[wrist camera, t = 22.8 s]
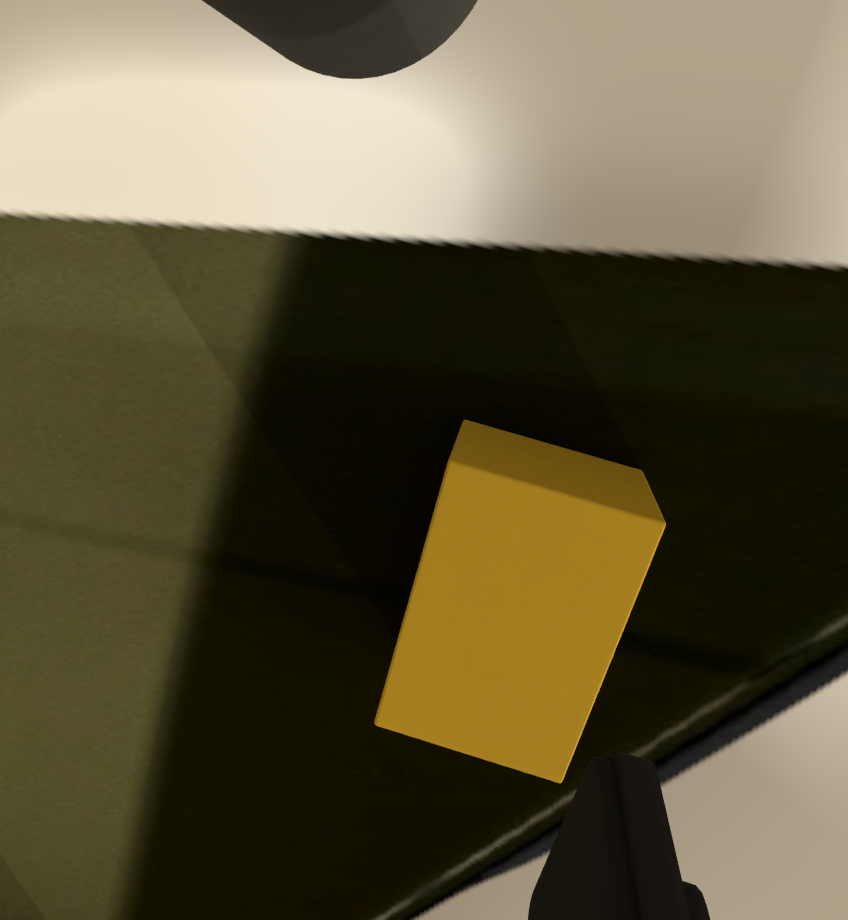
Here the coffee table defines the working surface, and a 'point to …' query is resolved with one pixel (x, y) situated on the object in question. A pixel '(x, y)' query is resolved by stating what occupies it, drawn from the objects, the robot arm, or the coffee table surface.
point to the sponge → (519, 599)
